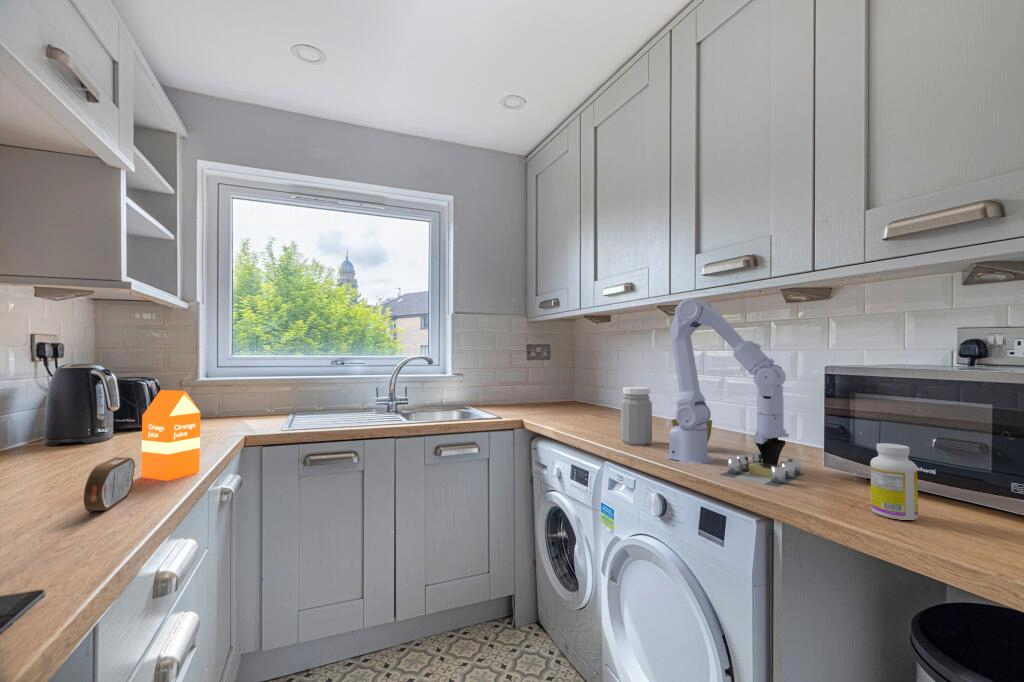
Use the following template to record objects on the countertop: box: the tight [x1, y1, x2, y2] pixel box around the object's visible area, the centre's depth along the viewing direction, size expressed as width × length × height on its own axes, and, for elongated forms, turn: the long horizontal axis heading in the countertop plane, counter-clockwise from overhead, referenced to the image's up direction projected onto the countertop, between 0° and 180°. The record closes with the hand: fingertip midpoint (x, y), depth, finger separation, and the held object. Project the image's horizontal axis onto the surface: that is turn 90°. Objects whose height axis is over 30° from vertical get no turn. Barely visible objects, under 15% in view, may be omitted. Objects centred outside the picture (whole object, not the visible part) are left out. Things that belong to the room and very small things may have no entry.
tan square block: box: [748, 462, 773, 478], centre depth 111 cm, size 5×5×2 cm
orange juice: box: [140, 389, 201, 481], centre depth 110 cm, size 8×9×20 cm
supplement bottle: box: [870, 442, 919, 519], centre depth 85 cm, size 7×7×13 cm
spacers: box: [727, 451, 802, 485], centre depth 112 cm, size 13×14×4 cm
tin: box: [83, 456, 136, 513], centre depth 89 cm, size 15×3×8 cm, turn 21°
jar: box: [620, 386, 653, 446], centre depth 150 cm, size 10×10×18 cm
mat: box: [719, 469, 806, 488], centre depth 111 cm, size 13×17×1 cm
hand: (770, 469), depth 113 cm, fingers closed
